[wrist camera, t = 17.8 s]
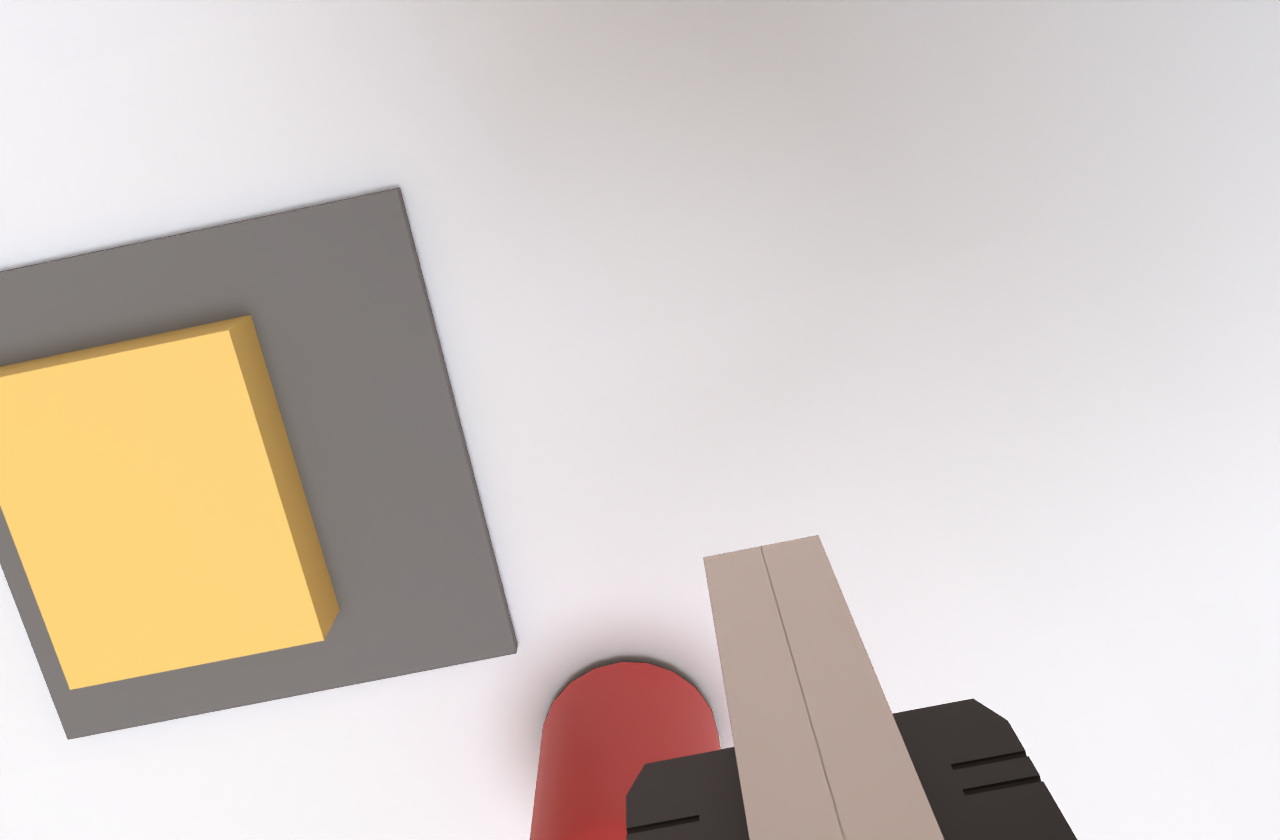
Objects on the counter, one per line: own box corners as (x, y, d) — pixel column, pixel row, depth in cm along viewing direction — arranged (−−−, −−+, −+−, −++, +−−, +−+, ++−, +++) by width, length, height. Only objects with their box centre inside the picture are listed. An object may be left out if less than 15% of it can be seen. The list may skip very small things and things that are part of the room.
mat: (-93, 291, 41) (-103, 294, 40) (399, 187, 40) (396, 189, 40) (74, 731, 46) (68, 739, 45) (517, 645, 45) (516, 653, 44)
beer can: (636, 620, 45) (642, 814, 33) (752, 737, 46) (796, 962, 35) (506, 727, 46) (468, 951, 34) (623, 838, 47) (624, 1088, 36)
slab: (250, 314, 41) (-8, 368, 41) (228, 330, 38) (-45, 386, 39) (339, 610, 44) (98, 657, 44) (323, 640, 41) (70, 689, 42)
